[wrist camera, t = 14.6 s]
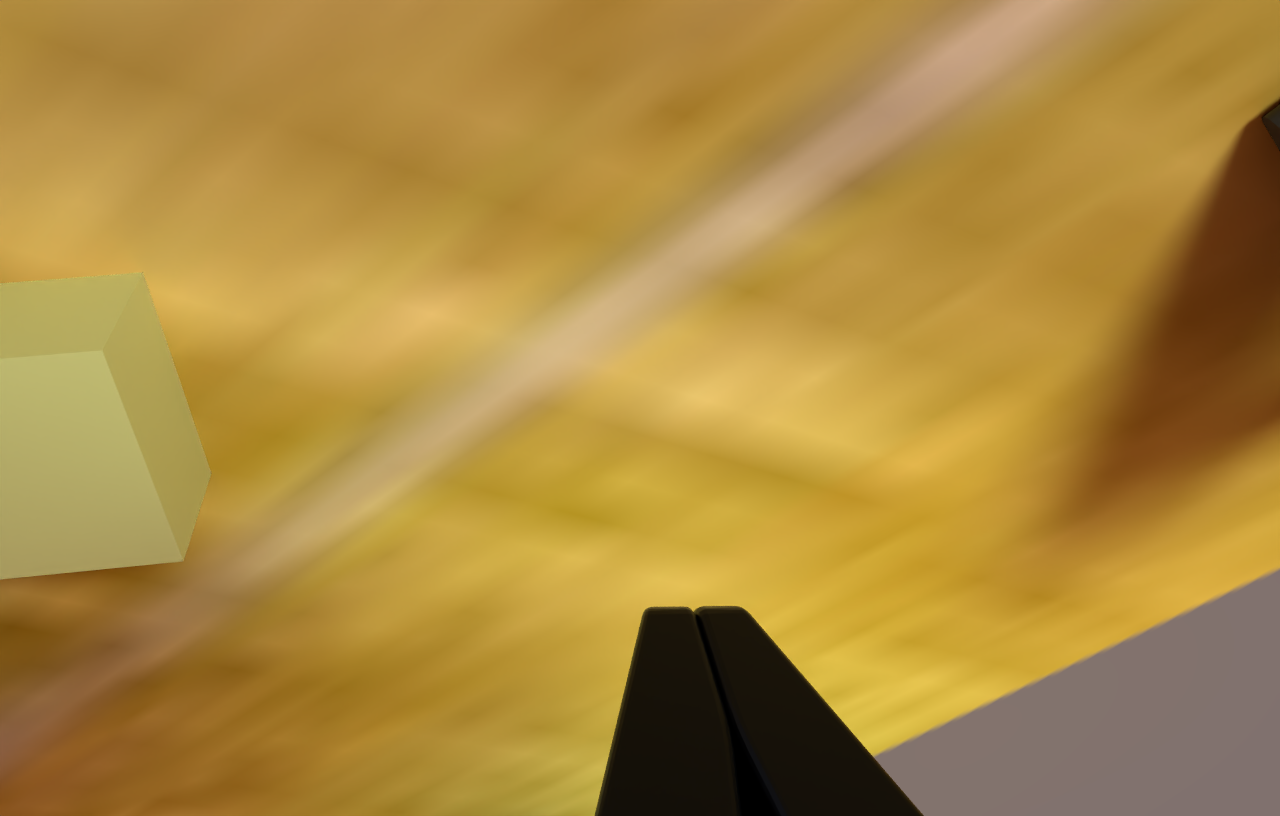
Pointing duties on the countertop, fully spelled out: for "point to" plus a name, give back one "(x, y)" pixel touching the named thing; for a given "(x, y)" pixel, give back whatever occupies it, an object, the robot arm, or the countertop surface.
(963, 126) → the countertop surface
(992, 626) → the countertop surface
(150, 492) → the chock
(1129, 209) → the countertop surface
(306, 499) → the countertop surface
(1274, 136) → the phone stand
